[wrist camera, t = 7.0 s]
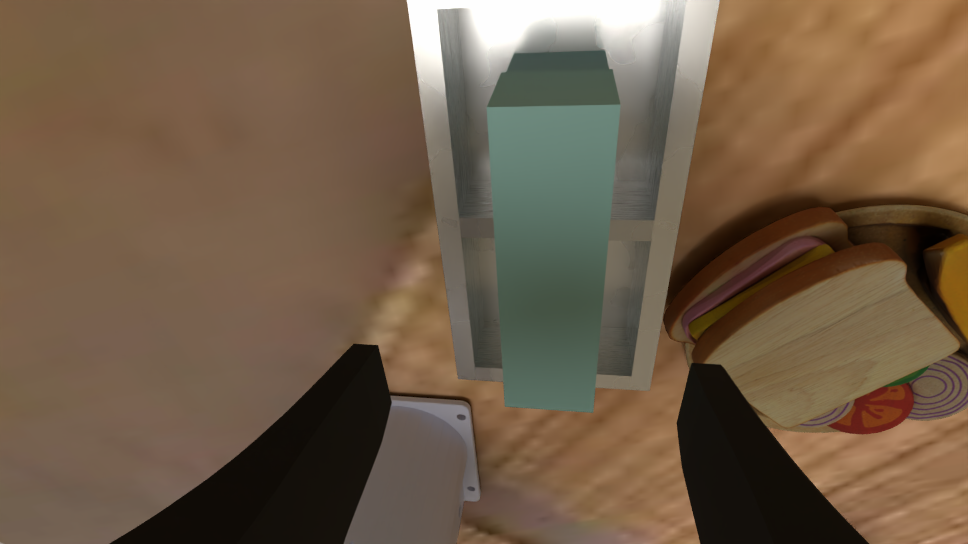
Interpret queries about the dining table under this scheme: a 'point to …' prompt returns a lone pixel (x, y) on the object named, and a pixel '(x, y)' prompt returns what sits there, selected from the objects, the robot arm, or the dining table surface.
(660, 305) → the cabinet frame
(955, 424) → the dining table surface
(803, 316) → the toy sandwich meal
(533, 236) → the clip
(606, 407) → the dining table surface
